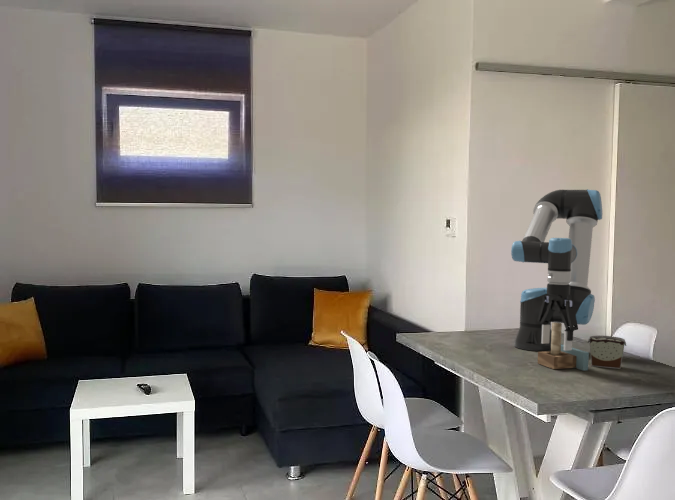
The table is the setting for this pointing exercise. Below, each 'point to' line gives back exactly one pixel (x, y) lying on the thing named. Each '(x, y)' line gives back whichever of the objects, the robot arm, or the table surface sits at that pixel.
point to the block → (557, 360)
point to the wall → (579, 357)
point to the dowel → (556, 339)
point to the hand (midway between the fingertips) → (556, 346)
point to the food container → (606, 351)
